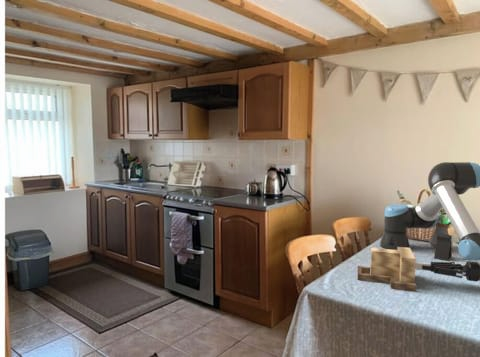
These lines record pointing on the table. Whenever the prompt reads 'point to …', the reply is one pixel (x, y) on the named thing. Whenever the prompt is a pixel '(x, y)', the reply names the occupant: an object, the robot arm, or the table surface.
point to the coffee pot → (441, 230)
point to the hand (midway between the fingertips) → (412, 265)
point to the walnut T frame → (383, 279)
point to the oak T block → (394, 264)
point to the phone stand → (443, 247)
